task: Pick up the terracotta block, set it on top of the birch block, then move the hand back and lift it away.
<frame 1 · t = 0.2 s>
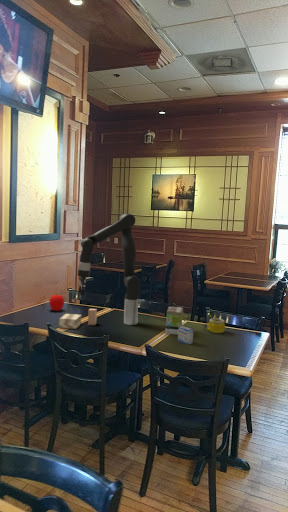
hand: (81, 294, 238), 22 cm above the table, tool pointing down, fingers open, 8 cm apart
tea box: (173, 331, 238), on the table
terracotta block: (92, 324, 247), on the table
yellow teapot: (214, 332, 241), on the table
medicine box: (185, 342, 217), on the table
red apple: (56, 310, 280), on the table
birch block: (70, 325, 241), on the table
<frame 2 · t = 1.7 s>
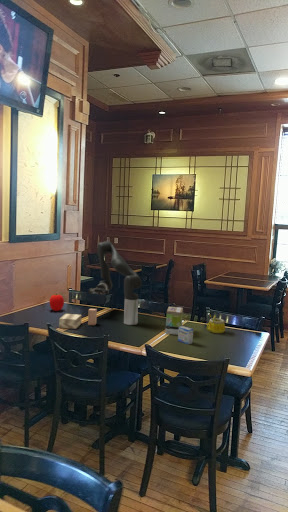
hand: (96, 292, 256), 19 cm above the table, tool horizontal, fingers open, 8 cm apart
nothing on the table moved.
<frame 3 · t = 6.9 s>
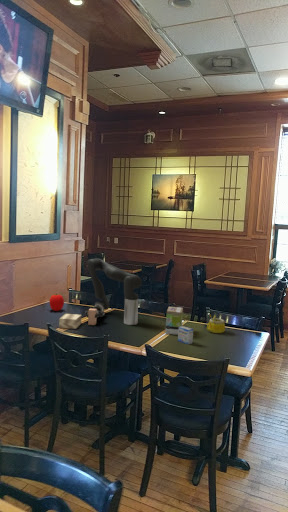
hand: (91, 316, 244), 6 cm above the table, tool horizontal, fingers closed on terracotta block, 4 cm apart
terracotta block: (92, 324, 247), on the table, touching gripper
everything else where it was.
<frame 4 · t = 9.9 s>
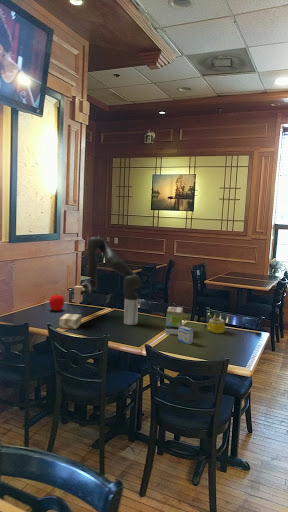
hand: (77, 293, 239), 22 cm above the table, tool horizontal, fingers closed on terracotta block, 4 cm apart
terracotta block: (78, 301, 242), point 16 cm above the table, touching gripper
everything else where it was.
when the fingers open (13 cm above the table, at t = 12.9 s): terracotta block stays where it is, resting on birch block.
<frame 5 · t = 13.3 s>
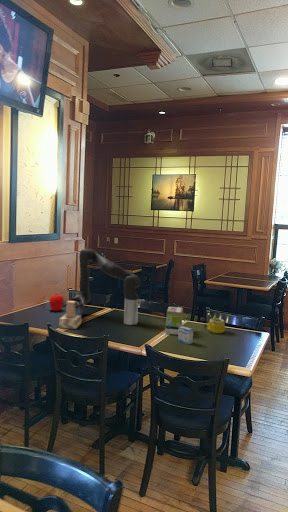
hand: (70, 306, 238), 13 cm above the table, tool horizontal, fingers open, 8 cm apart
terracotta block: (70, 316, 241), point 6 cm above the table, touching birch block
everything else where it was.
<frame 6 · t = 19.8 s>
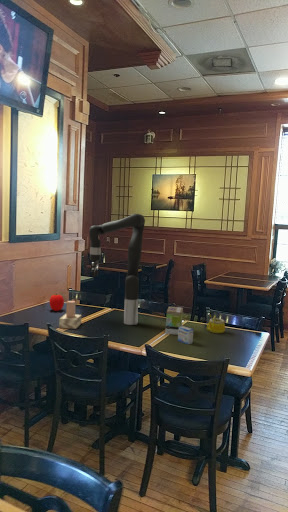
hand: (94, 276, 261), 30 cm above the table, tool pointing down, fingers open, 8 cm apart
nothing on the table moved.
at the end: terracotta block inside the target area on the birch block (0.1 cm from its centre), point 6.0 cm above the birch block's base; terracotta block tilted 0°; the gripper is holding nothing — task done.
